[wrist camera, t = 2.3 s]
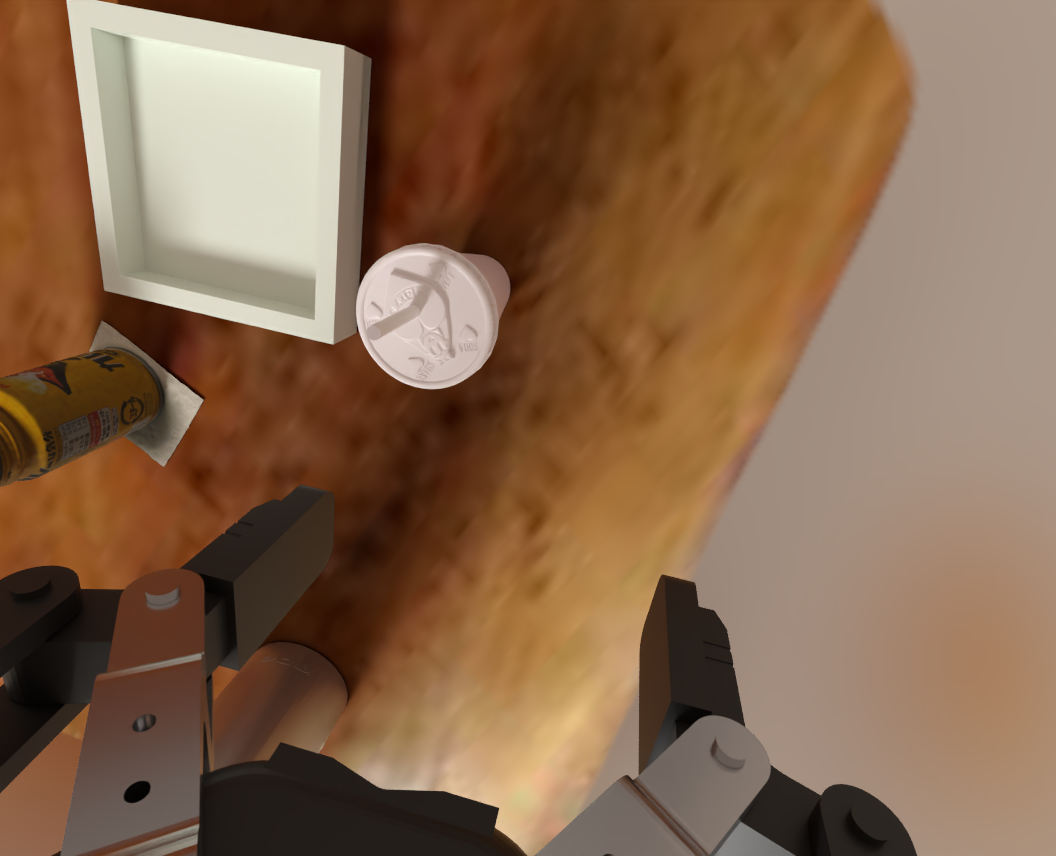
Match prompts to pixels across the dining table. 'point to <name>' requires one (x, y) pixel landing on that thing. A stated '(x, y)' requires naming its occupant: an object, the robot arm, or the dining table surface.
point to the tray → (225, 166)
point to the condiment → (90, 408)
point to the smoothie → (431, 313)
